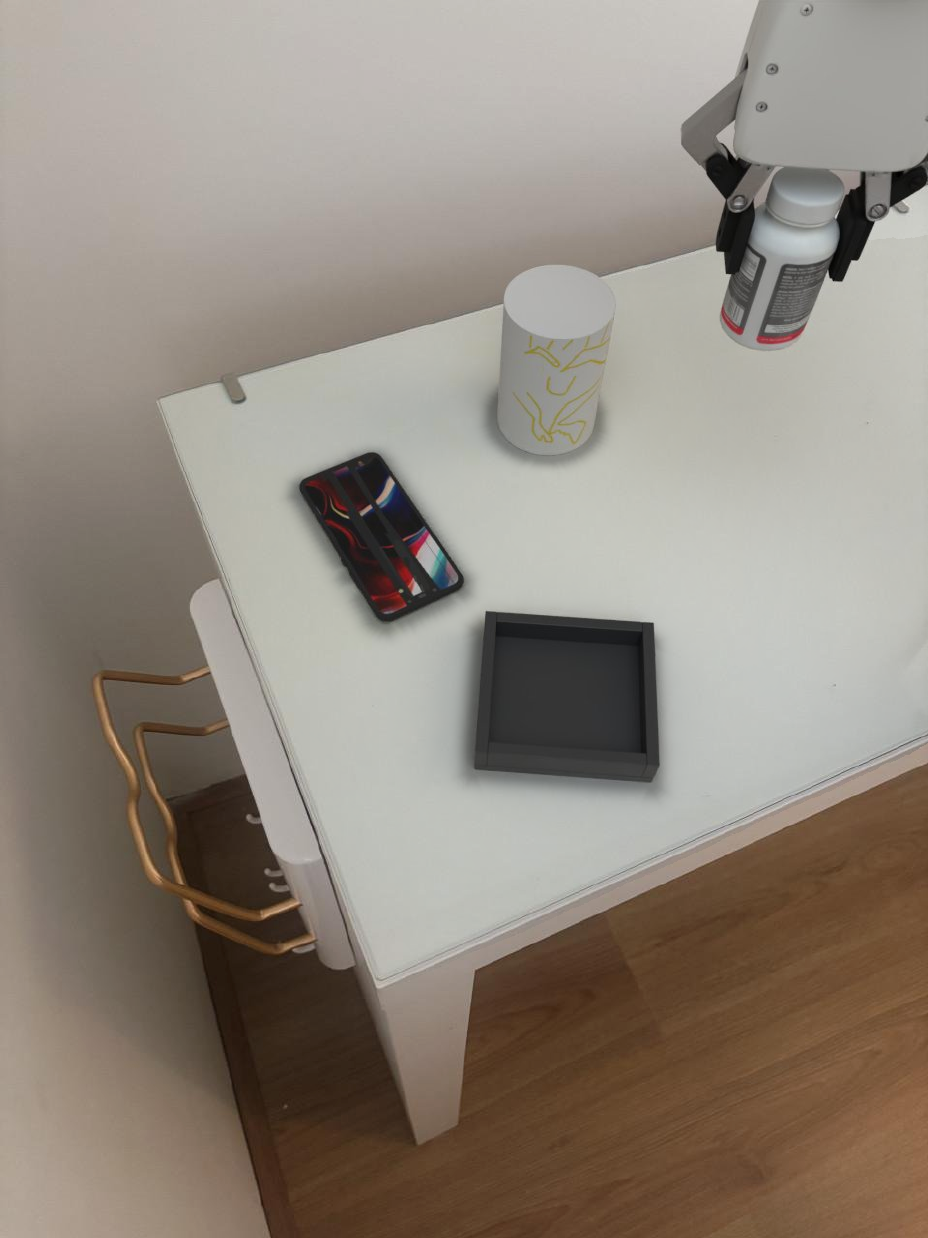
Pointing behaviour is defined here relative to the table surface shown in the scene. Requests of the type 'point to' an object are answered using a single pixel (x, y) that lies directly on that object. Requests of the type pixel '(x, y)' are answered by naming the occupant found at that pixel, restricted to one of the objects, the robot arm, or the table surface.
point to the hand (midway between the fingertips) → (782, 260)
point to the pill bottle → (784, 260)
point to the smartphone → (380, 536)
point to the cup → (553, 357)
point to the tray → (568, 697)
